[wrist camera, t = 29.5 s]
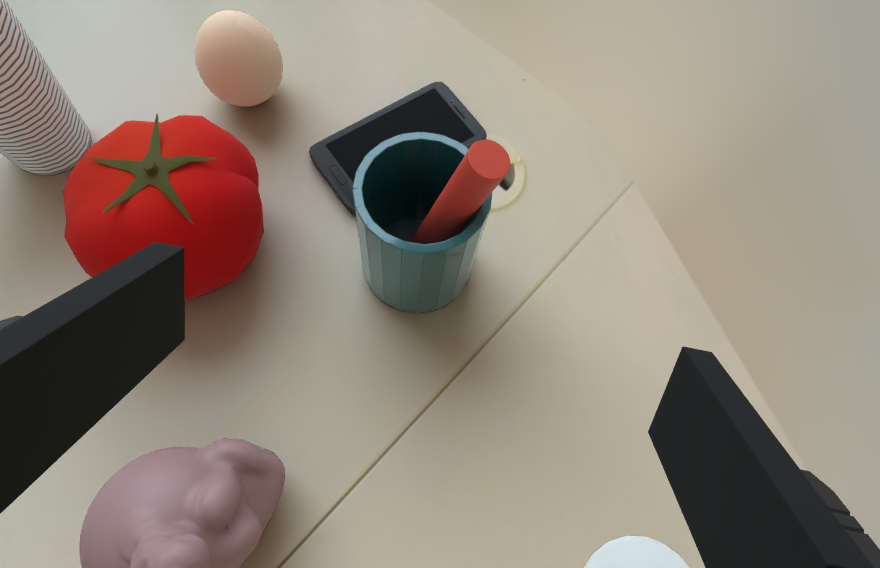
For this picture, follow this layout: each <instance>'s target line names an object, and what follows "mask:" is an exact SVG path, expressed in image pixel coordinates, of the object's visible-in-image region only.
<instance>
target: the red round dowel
mask: <svg viewBox="0 0 880 568" xmlns="http://www.w3.org/2000/svg"><path fill="white" fill-rule="evenodd" d="M509 169H510V158H509V156H508V153H507V152H506V150H505V149H504V148H503V147H502V146H501V145H499V144H498V143H496V142H494V141H491V140H479V141H477V142H475V143H474V144H473V145H472V146H471V147H470V149H469V150H468V152H467V153H466V155H465V156H464V158H463V159H462V161H461V163H460V164H459V166H458V167H457V169H456V170H455V172H454V174H453V175H452V177H451V178H450V180H449V181H448V183H447V185H446V186H445V188H444V189H443V191H442V192H441V194H440V196H439V197H438V199H437V200H436V202H435V203H434V205H433V207H432V208H431V210H430V211H429V213H428V214H427V216H426V217H425V219H424V221H423V222H422V224H421V225H420V227H419V228H418V230H417V232H416V233H415V235H414V236H413V238H412V239H411V241H410V242H412V243H419V244H430V243H437V242H444V241H446V240H448V239H450V238H452V237H454V236H456V235H457V234H458V233H459V232H460V231H461V229H462V228H463V227H464V226H465V225H466V223H467V222H468V221H469V220H470V218H471V217H472V216H473V215H474V214H475V212H476V211H477V210H478V209H479V207H480V206H481V205H482V204H483V203H484V201H485V200H486V199H487V198H488V196H489V195H490V194H491V193H492V191H493V190H494V189H495V188H496V187H497V185H498V184H499V183H500V182H501V180H502V179H503V178H504V177H505V176H506V174H507V173H508V171H509Z"/></svg>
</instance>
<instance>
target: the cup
mask: <svg viewBox="0 0 880 568" xmlns="http://www.w3.org/2000/svg"><path fill="white" fill-rule="evenodd" d="M90 140H91V137H90V133H89V130H88V127H87V125H86V123H85V122H84V120H83V119H82V117H81V116H80V114H79V113H78V111H77V109H76V108H75V106H74V105H73V103H72V102H71V100H70V99H69V97H68V96H67V94H66V92H65V91H64V89H63V88H62V86H61V85H60V83H59V82H58V80H57V79H56V77H55V76H54V74H53V72H52V71H51V69H50V68H49V66H48V65H47V63H46V62H45V60H44V59H43V57H42V55H41V54H40V52H39V51H38V49H37V48H36V46H35V45H34V43H33V42H32V40H31V38H30V37H29V35H28V34H27V32H26V31H25V29H24V28H23V26H22V25H21V23H20V21H19V20H18V18H17V17H16V15H15V14H14V12H13V11H12V9H11V8H10V6H9V4H8V3H7V1H6V0H0V154H2V155H3V156H5V157H6V158H7V159H9V160H10V161H11V162H13V163H14V164H15V165H17V166H18V167H20V168H21V169H22V170H25V171H28V172H31V173H33V174H37V175H53V174H56V173H59V172H62V171H66V170H68V169H70V168H71V167H73V166H74V165H76V164H77V163H78V162H79V160H80V159H81V158H82V156H83V155H84V154H85V153H86V151H87V150H88V149H89V144H90Z"/></svg>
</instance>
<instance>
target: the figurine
mask: <svg viewBox="0 0 880 568" xmlns="http://www.w3.org/2000/svg"><path fill="white" fill-rule="evenodd" d="M284 480H285V469H284V466H283V463H282V462H281V460H280V459H279V458H278V456H277V455H276V454H275V453H274V452H271V451H269V450H267V449H263V448H261V447H259V446H256V445H254V444H251V443H249V442H246V441H244V440H240V439H231V438H224V439H222V440H219V441H215V442H214V443H212V444H210V445H208V446H206V447H204V448H202V449H199V448H194V447H171V448H165V449H160V450H157V451H153V452H150V453H148V454H145V455H143V456H141V457H139V458H137V459H135V460H133V461H131V462H130V463H128V464H127V465H126V466H124V467H123V468H121V469H120V470H119V471H118V472H117V473H115V474H114V475H113V476H112V477H111V478H110V479H109V480H108V481H107V482H106V483H105V485H104V486H103V487H102V488H101V489H100V491H99V492H98V494H97V495H96V497H95V498H94V500H93V502H92V503H91V505H90V507H89V509H88V511H87V514H86V516H85V519H84V522H83V526H82V530H81V535H80V559H81V565H82V568H239V567H240V566H241V565H242V563H243V562H244V561H245V560H246V559H247V557H248V556H249V555H250V554H251V553H252V552H253V550H254V549H255V548H256V546H257V545H258V543H259V541H260V538H261V534H262V532H263V530H264V528H265V526H266V525H267V523H268V521H269V520H270V518H271V516H272V514H273V512H274V510H275V508H276V505H277V502H278V500H279V498H280V495H281V493H282V490H283V485H284Z"/></svg>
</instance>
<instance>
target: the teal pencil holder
mask: <svg viewBox="0 0 880 568" xmlns="http://www.w3.org/2000/svg"><path fill="white" fill-rule="evenodd" d="M468 150H469V149H468V148H467V147H466V146H465V145H463V144H462V143H460V142H458V141H456V140H453V139H451V138H449V137H447V136H444V135H441V134H434V133H428V132H414V133H405V134H400V135H397V136H395V137H392V138H390V139H387V140H385V141H383V142H381V143H380V144H378V145H377V146H376V147H375V148H374V149H372V150H371V151H370V152H369V153H367V155H366V156H365V157H364V159H363V161H362V162H361V164H360V165H359V167H358V169H357V171H356V174H355V178H354V183H353V188H352V189H353V190H352V191H353V199H354V206H355V213H356V220H357V228H358V235H359V242H360V249H361V256H362V263H363V270H364V275H365V278H366V281H367V283H368V285H369V287H370V288H371V290H372V291H373V292H374V294H375V295H376V296H377V297H378V298H379V299H380V300H381V301H383V302H384V303H386V304H387V305H389V306H391V307H392V308H395V309H397V310H400V311H404V312H410V313H424V312H430V311H434V310H437V309H439V308H442V307H444V306H445V305H447V304H449V303H450V302H451V301H453V300H454V299H455V298H456V297H457V296H458V295H459V293H460V292H461V291H462V289H463V288H464V286H465V284H466V281H467V279H468V277H469V274H470V271H471V268H472V265H473V262H474V259H475V256H476V253H477V250H478V246H479V243H480V240H481V237H482V234H483V231H484V228H485V225H486V221H487V218H488V215H489V212H490V209H491V200H492V193H491V194H490V195H489V196H488V198H487V199H486V200H485V201H484V203H483V204H482V205H481V206H480V207H479V209H478V210H477V211H476V212H475V214H474V215H473V216H472V217H471V218H470V220H469V221H468V222H467V223H466V225H465V226H464V227H463V228H462V229H461V231H460V232H459V233H458V234H457V235H456V236H454V237H452V238H450V239H448V240H446V241H444V242H437V243H430V244H419V243H412V242H410V241H411V239H412V238H413V236H414V235H415V233H416V232H417V230H418V228H419V227H420V225H421V224H422V222H423V221H424V219H425V217H426V216H427V214H428V213H429V211H430V210H431V208H432V207H433V205H434V203H435V202H436V200H437V199H438V197H439V196H440V194H441V192H442V191H443V189H444V188H445V186H446V185H447V183H448V181H449V180H450V178H451V177H452V175H453V174H454V172H455V170H456V169H457V167H458V166H459V164H460V163H461V161H462V159H463V158H464V156H465V155H466V153H467V152H468Z"/></svg>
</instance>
